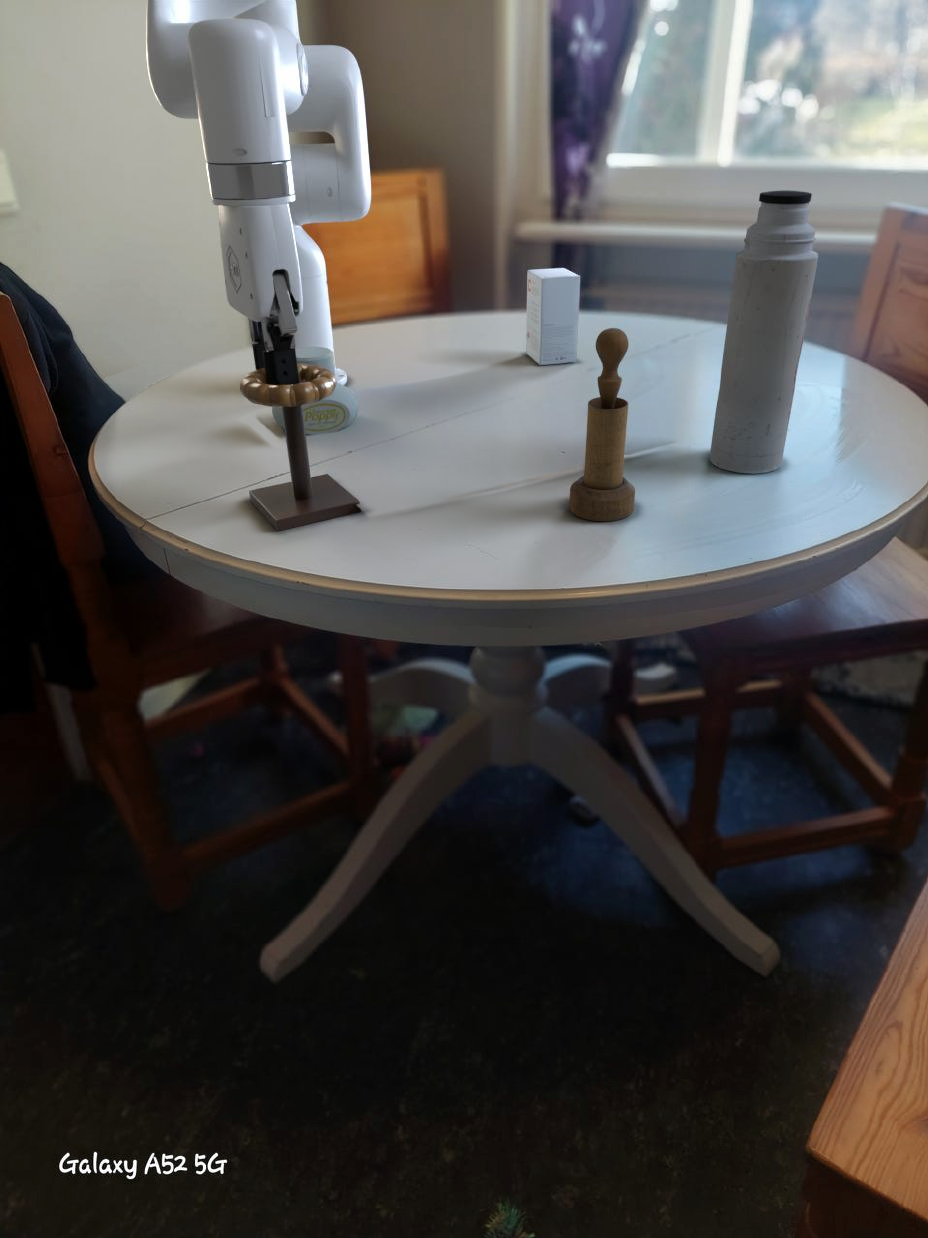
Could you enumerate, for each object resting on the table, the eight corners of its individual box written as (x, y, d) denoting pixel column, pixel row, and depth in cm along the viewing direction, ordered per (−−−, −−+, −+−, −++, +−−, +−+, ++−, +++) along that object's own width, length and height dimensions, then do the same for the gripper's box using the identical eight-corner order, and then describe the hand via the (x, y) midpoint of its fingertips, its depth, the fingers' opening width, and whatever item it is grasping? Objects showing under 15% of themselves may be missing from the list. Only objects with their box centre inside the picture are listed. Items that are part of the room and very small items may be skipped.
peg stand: (250, 500, 93) (232, 387, 87) (328, 483, 97) (316, 374, 91) (277, 531, 87) (260, 411, 80) (360, 511, 90) (350, 395, 84)
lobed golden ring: (231, 390, 88) (228, 370, 87) (317, 376, 91) (315, 356, 90) (259, 415, 81) (256, 394, 80) (351, 399, 84) (349, 378, 83)
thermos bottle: (777, 450, 103) (823, 187, 88) (784, 475, 96) (835, 195, 82) (708, 447, 104) (742, 187, 90) (710, 471, 98) (747, 195, 83)
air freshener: (352, 416, 117) (346, 340, 112) (366, 435, 111) (360, 355, 105) (271, 426, 114) (260, 348, 109) (280, 446, 108) (269, 365, 103)
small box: (577, 362, 138) (581, 275, 131) (539, 365, 137) (541, 278, 130) (561, 350, 145) (564, 266, 138) (524, 353, 143) (526, 269, 137)
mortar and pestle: (592, 527, 86) (603, 340, 77) (556, 504, 91) (563, 326, 82) (646, 512, 88) (663, 331, 79) (609, 491, 93) (621, 318, 84)
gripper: (188, 180, 83) (220, 372, 93) (237, 194, 71) (268, 413, 81) (263, 175, 86) (287, 362, 96) (323, 188, 74) (343, 399, 84)
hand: (278, 383), depth 88 cm, fingers closed on lobed golden ring, 2 cm apart
